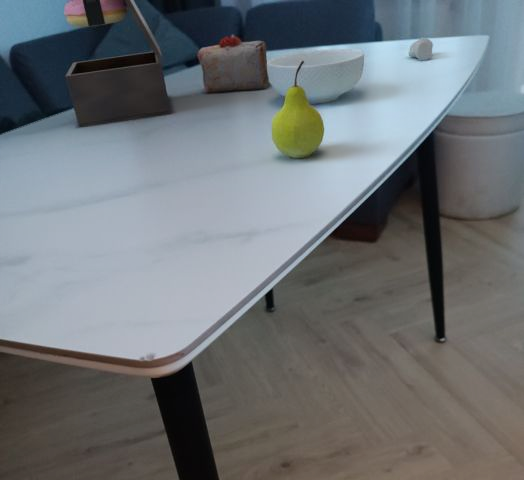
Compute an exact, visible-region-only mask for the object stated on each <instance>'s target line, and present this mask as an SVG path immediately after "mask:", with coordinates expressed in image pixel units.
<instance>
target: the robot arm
mask: <svg viewBox="0 0 524 480" xmlns="http://www.w3.org/2000/svg"><path fill="white" fill-rule="evenodd" d="M83 4H84V9H85V13H86V17H87V21H88V25H89V27H96V26H95V25H98V26H104V25H103V24H105V21H104V16H103V12H102V7H101V3H100V0H83ZM105 25H106V24H105Z"/></svg>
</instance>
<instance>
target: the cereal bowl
mask: <svg viewBox="0 0 524 480" xmlns="http://www.w3.org/2000/svg"><path fill="white" fill-rule="evenodd" d="M302 61H304V63H303V65H302V66H301V69H300V70H299V72H298V74H297V80H296V81H297V85H298V86H301V87H302V88H303V89H304V91H305V94H306V98H307V100H308V103H309V104H310V105H315V104H324V103H328V102H333V101H335V100H337V99H339V98H340V96H341V95H343V94H346V93H347V92H349V91H350V90H351V89H353V88H354V87H356V85H357V84H358V83H359V81H360V80H361V78H362V76H363V72H364V67H365V54H364V52H363V51H361V50H359V49H353V48H352V49H350V48H331V49H329V48H328V49H318V50H308V51H301V52H295V53H290V54H285V55H282V56H278V57H275V58H272V59H270V60H267V73H268V78H269V85H270V86H271V87H272V88H273V90H274V91H275V92H276V93H278V94H279V95H281V96H283V97H285V96H286V93H287V91H288V89H289V88H290V87H292V86H294V83H295V76H296V72H297V69H298V67H299V65H300V64H301V62H302Z"/></svg>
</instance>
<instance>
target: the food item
mask: <svg viewBox="0 0 524 480" xmlns="http://www.w3.org/2000/svg"><path fill="white" fill-rule="evenodd" d="M197 58H198V62H199V65H200V67H201V71H202V83H203V88H204V92H205V94H217V93H218V94H219V93H225V92H227V93H228V92H240V91H255V90H265V89H267V88H269V85H270V81H269V78H268V73H267V62H268V59H267V44H266V42H265V41H263V40H253V41H242V39H241V38H240V37H237V36H235V34H234V33H232V34H231V35H230V37H228V35H226V36H225V37H223V38H221V39H220V42H219V43H218V44H215V45H210V46H206V47H203V46H202V47H201V48H200V49H199V51H197Z"/></svg>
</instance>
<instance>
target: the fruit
mask: <svg viewBox="0 0 524 480" xmlns="http://www.w3.org/2000/svg"><path fill="white" fill-rule="evenodd" d="M303 63H304V61H302V62H301V64H300V65H299V67H298V69H297V72H296V76H295V83H294V86H292V87H290V88H289V89H288V91H287V93H286V96H284V97H285V98H284V103H283V106H282V108H281V109H279V111H278V112H276V113H275V115H274V117H273V118H272V121H271V127H270V129H271V130H270V131H271V138H272V140H273V141H272V142H273V144H274V146H275V148H276V149H277V150H278V151H279V152H280V153H281V154H284V155H286V156H288V157H290V158H292V159H305V158H308V157H310V156H311V155H313V153H315V152H316V151H317V150H318V148H319V147H321V146H320V145H321V144H322V142H323V139H324V133H325V125H324V121H323V118H322V116H321V114H320V113H319V111H318V110H317V109H316V108H315V107H314V106H312V104H309V103H308V100H307V98H306V94H305V91H304V89H303V88H302V87H301V86H298V85H297V81H296V80H297V74H298V72H299V70H300V69H301V66H302V65H303Z"/></svg>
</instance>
